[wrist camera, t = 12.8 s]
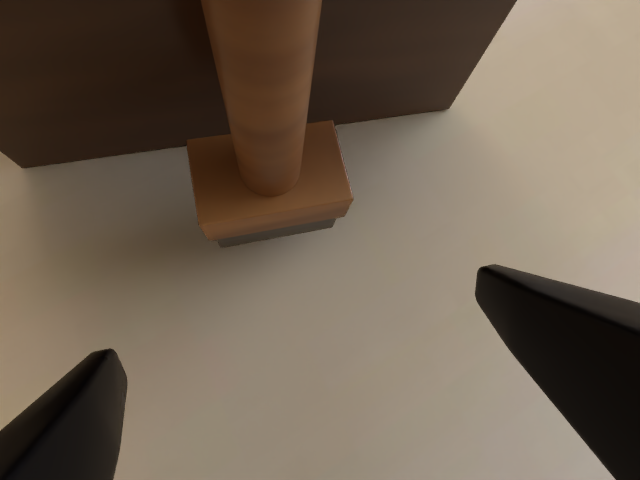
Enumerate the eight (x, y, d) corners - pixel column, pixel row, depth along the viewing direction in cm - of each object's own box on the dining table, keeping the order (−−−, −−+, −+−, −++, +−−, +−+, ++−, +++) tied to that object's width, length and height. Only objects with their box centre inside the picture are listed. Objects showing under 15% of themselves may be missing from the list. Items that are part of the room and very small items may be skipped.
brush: (337, 230, 17) (572, -214, 3) (217, 253, 16) (-109, -225, 3) (310, 121, 19) (401, -502, 5) (198, 136, 18) (-78, -575, 4)
